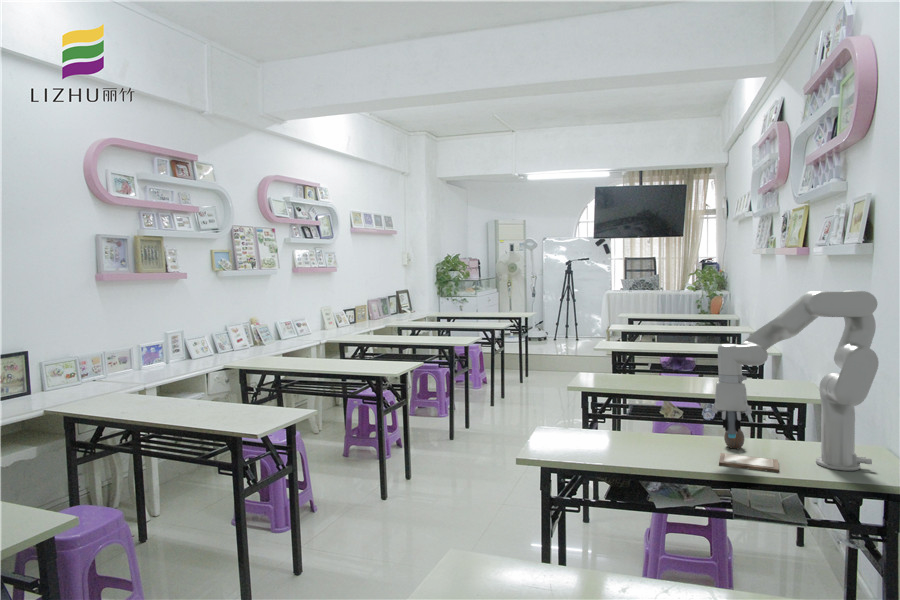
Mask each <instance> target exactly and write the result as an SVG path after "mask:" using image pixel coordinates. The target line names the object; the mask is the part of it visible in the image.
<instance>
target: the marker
mask: <svg viewBox="0 0 900 600" xmlns="http://www.w3.org/2000/svg"><path fill="white" fill-rule="evenodd" d="M726 417H727V433H728V437H729V438H736V434H737V431H736V419H737V412H734V411H726Z"/></svg>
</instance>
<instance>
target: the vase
mask: <svg viewBox="0 0 900 600" xmlns="http://www.w3.org/2000/svg"><path fill="white" fill-rule="evenodd" d="M723 438H724V443H725V445H726V446H727V448H729V447H731V448H730V449H733V448H739V449H741V448H742V447H743V445H744V443H745V435H744V432H743V431H742V429H739V431H738V432H737V434H736V438H729V437H728V433H727V431H725V432H724V437H723Z"/></svg>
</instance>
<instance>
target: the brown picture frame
mask: <svg viewBox="0 0 900 600" xmlns="http://www.w3.org/2000/svg"><path fill="white" fill-rule="evenodd" d="M722 465H725V466H724V467H730V466H733V467H732V468H738V467H739V469H746V468H749V469H748V470H754V469H758V470H757V471H762V470H767V471H766V472H770V471H774V472H773V473H778V472H780V467H779V459H778V458H777V459H774V458H769V457H767V458H765V457H757V456H749V455H740V454H733V453H724V452H723V453H722V452H720V455H719V460H718V466H722Z"/></svg>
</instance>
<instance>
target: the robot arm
mask: <svg viewBox="0 0 900 600" xmlns="http://www.w3.org/2000/svg"><path fill="white" fill-rule="evenodd" d="M877 308H878V300H877V298H876V297H875V295H874V294H872V293H871V292H868V291H866V290H854V289H851V290H849V289H848V290H844V291H826V290H825V291H822V290H811V291H810V290H809V291H807V292H806V293H804V294H803V295H801V296H800V297H799V298H798V299H796V300H795V301H794V302H793V303H792V304H790V305H789V306H788V307H787V308H785V310H784V311H782V312H781V313H780V314H778V315H777V316H776V317H774V318H773V319H772V320H770V321H769V322H767V323H765V325H763V326H761V327H760V328H758V329H757V330H756V331H754V332H753V333H751V334H750V335H749V336H748V337H747V338H746V339H745V340H743V341H742V342H741V343H740V345H739V344H737V343H722V344H720V345H718V347H717V365H718V366H717V368H718V369H717V371H718V381H717V382H716V385H715V392H714V393H715V396H714V403H713V405H712V407H711V408H710V410H711V412H712V413H715V414H717V416H719V418H721V419H722V428H723V429H724V431H725V432H726V431H727V411H734V412H736V431H737V432H738V431H739V429H741V428H742V426H741V421H742V420H743V419H744V418H745V417H746V416H748V415H752V413H753V411H752V409H751V407H750V405H749V404H748V394H747V388H746V384H745V382H743V381H748V380H747V378H748V377H747V376H746V375H743V365H745V366H751V367H752V366H754V367H755V366H756V367H757V366H761V365H763V364H765V363H766V362H767V360H768V358H769V353H768V351H767V350H768V349H770V348H771V347H773V346H775V344H777V343H780V342H782V341H784V340H789V339H792V338H793V337H797V335H799V333H800V332H802V331H803V330H804V329H805V328H806V327H808V326H809V325H810V324H811V323H813V322H814V321H815V320H817V319H818V318H819V317H821V318H822V317H823V318H843V319H844V329H843V330H842V335H841V337H840V339H839V342H838V345H837V348H836V350H835V352H834V355H833V361H834V363H835V365H836V366H837V367H838V368H840V369H841V370H840V372H830V373H828V374H826V375H824V376H823V377H822V378H821V380H820V383H819V397H820V405H821V419H820V420H821V421H820V422H821V428H820V429H821V430H820V431H821V432H820V433H821V436H820V437H821V438H820V440H821V445H820V446H821V447H820V449H821V450H820V452H821V453H820V456H819V457H816V458H815V464H817V465H818V466H821V467H824V468H827V469H832V470H837V471H846V472H847V471H848V472H849V471H858V470H860V469H861V464H864V465H870V466H871V465H872V464H873V459H872V458H868V457H866V456H859V455H857V454H856V452H855V451H856V450H855V449H856V448H855V446H856V445H855V441H856V436H855V435H856V431H855V430H856V409H855V407H856V406H859V405H861V404H862V403H863V402H864V401H865V400H866V398H867V397H868V394H869V392H870V390H871V387H872V384H873V382H874V379H875V377H876V374H877V372H878V369H879V357H878V354H877V353H876V352H875V351H874V350H873V349H872V348H871V346H872V343H873V339H874V337H875V333H876V327H877V326H876V320H875V316H874V313H875V312H876V310H877ZM741 430H742V429H741Z"/></svg>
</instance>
